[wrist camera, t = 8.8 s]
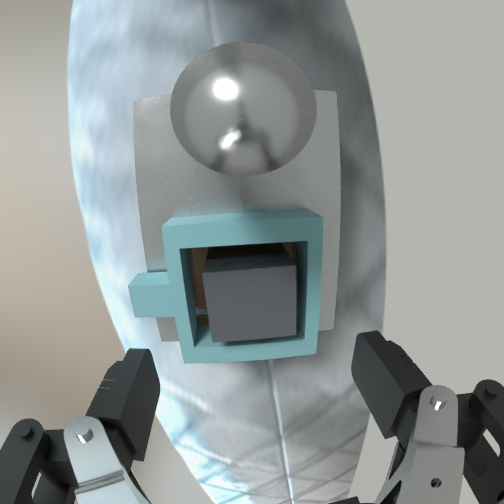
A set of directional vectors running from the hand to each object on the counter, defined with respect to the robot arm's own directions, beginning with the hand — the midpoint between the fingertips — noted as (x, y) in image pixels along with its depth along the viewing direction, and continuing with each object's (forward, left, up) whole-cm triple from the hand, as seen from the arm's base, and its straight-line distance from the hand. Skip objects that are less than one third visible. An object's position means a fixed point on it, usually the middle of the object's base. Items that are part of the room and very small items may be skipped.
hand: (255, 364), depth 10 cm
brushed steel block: (0, 0, -12) cm, 12 cm away
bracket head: (0, -1, -8) cm, 8 cm away
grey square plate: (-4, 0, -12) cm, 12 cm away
